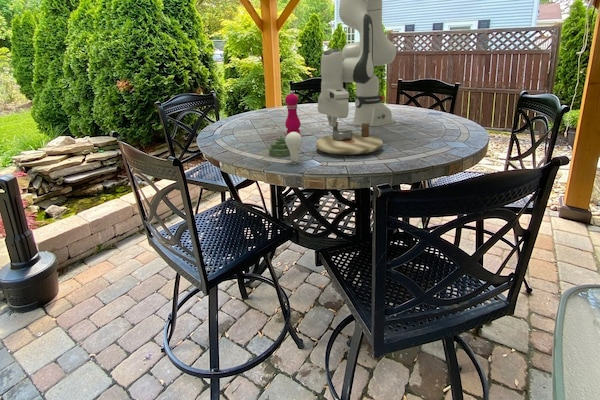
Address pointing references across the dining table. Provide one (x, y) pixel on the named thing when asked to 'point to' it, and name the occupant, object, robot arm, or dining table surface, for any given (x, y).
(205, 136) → the dining table surface
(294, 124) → the pepper mill
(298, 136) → the lightbulb
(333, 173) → the dining table surface
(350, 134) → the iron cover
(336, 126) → the pointer
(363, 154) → the turntable base
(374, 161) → the dining table surface
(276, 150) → the decorative artifact
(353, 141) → the turntable
